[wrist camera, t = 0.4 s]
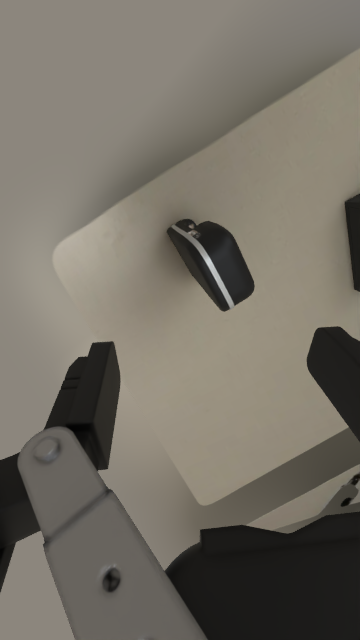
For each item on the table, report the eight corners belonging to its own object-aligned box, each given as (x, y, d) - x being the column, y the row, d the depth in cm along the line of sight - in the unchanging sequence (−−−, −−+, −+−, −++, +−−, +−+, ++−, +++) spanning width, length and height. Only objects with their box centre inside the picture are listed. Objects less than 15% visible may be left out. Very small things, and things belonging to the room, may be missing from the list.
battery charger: (220, 261, 32) (267, 297, 22) (193, 278, 32) (228, 321, 22) (193, 208, 28) (235, 222, 18) (163, 227, 29) (189, 251, 19)
